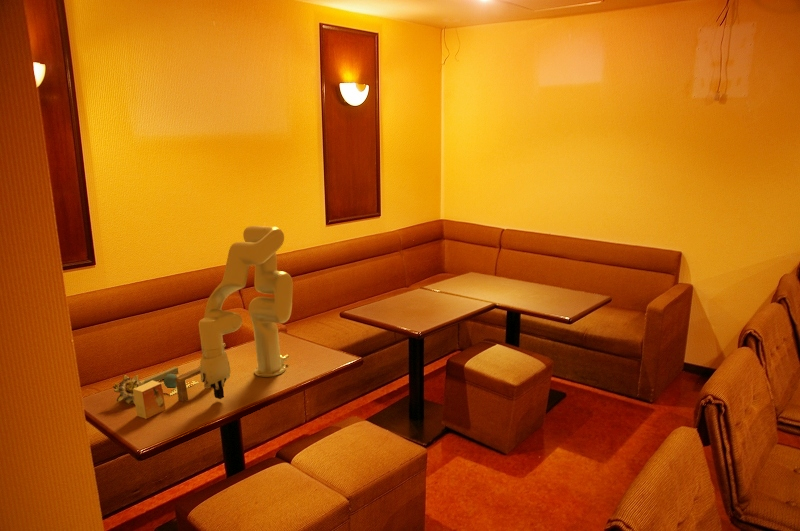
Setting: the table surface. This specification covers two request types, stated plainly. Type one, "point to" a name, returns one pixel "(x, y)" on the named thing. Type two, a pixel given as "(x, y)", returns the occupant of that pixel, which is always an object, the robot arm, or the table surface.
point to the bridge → (184, 383)
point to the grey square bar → (162, 375)
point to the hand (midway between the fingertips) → (219, 397)
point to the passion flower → (127, 388)
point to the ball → (170, 381)
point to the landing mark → (186, 387)
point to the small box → (149, 399)
